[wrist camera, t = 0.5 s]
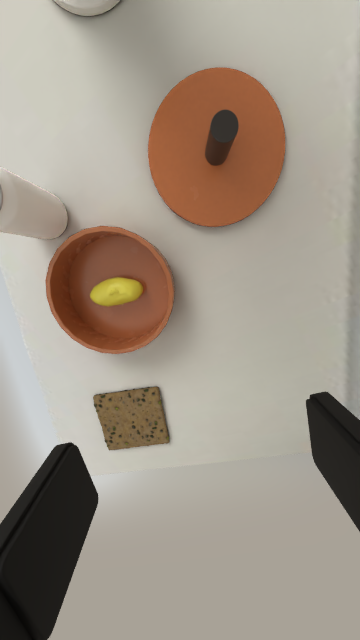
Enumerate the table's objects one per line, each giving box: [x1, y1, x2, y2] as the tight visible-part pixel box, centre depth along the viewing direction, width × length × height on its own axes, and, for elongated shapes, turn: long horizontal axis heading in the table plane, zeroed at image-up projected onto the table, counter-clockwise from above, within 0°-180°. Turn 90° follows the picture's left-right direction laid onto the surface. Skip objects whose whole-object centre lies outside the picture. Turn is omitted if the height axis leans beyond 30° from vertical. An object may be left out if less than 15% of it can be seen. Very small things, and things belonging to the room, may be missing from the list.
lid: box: [148, 68, 285, 227], centre depth 27 cm, size 18×18×7 cm
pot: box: [46, 226, 175, 354], centre depth 33 cm, size 17×17×5 cm
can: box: [0, 167, 68, 239], centre depth 27 cm, size 6×6×12 cm
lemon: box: [90, 277, 143, 306], centre depth 33 cm, size 4×8×4 cm, turn 95°
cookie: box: [93, 387, 169, 450], centre depth 41 cm, size 12×12×1 cm
